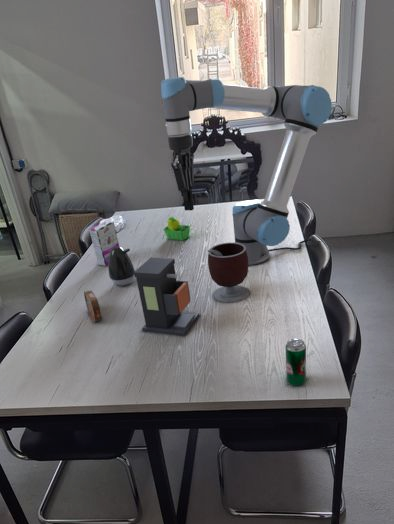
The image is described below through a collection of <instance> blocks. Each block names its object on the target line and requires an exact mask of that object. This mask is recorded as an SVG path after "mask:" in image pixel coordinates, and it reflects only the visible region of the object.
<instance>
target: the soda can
mask: <svg viewBox="0 0 394 524" xmlns="http://www.w3.org/2000/svg"><path fill="white" fill-rule="evenodd" d="M285 379H286V382H287V383H288V384H289V385H291V386H294V387H299V386H303V385H304V384H305V383H306V381H307V345H306V342H305V341H304V340H303V339H302V338H295V337H294V338H291V339H289V340H288V341H287V342H286V345H285Z"/></svg>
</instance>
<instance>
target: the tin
mask: <svg viewBox="0 0 394 524" xmlns="http://www.w3.org/2000/svg"><path fill="white" fill-rule="evenodd" d="M83 297H84V301H85V304H86V309H87V311H88V314H89V315H90V317H91V319H92V322H93V323H96V322H99V321H102V314H101V307H100V303H99V300H98V297H96V295H95V293H94V292H93V291H92V290H85V291H84V292H83Z"/></svg>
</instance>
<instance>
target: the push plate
mask: <svg viewBox="0 0 394 524" xmlns="http://www.w3.org/2000/svg"><path fill="white" fill-rule="evenodd" d="M188 286H189V283H188V284H187V283H183V284H182V285H181V286H180V287H179V288H178V290H177V291H176V292H175V293H174V295H176V300H177V307H178V313H179V314H180V313H181V312H182V311H185V309H186V308H187V306H188V305H189V304H190V303H191V301H190V300H191V297H190V298H189V293H190V290H189V291H188Z"/></svg>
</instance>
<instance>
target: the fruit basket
mask: <svg viewBox="0 0 394 524" xmlns="http://www.w3.org/2000/svg"><path fill="white" fill-rule="evenodd" d="M190 229H191V225H185V224H180V221H179V220H178V219H177V218H175V217H174V216H170V217H168V219H167V226H165V227H164V228H162V230H163V232H164V233H165V236H166V238H167V239H168V240H174V241H181V242H183V241H184V240H186V239H187V238H189V236H190Z"/></svg>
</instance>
